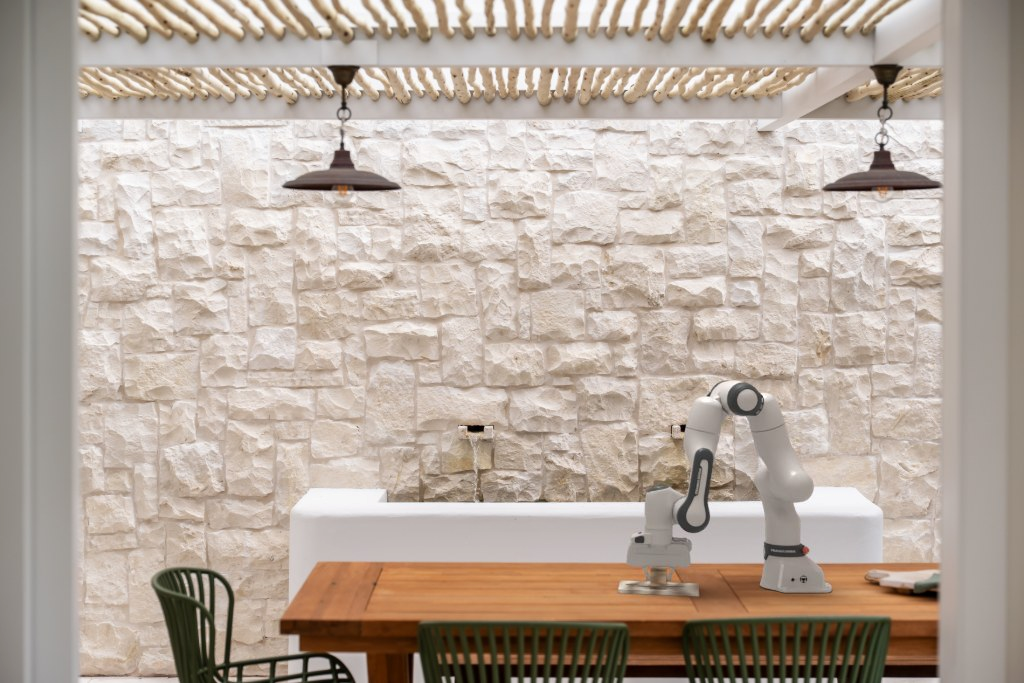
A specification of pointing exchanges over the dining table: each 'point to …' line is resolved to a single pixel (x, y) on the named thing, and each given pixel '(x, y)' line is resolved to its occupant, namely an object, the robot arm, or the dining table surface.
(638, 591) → the plank
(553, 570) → the dining table surface
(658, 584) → the beige brown jar
